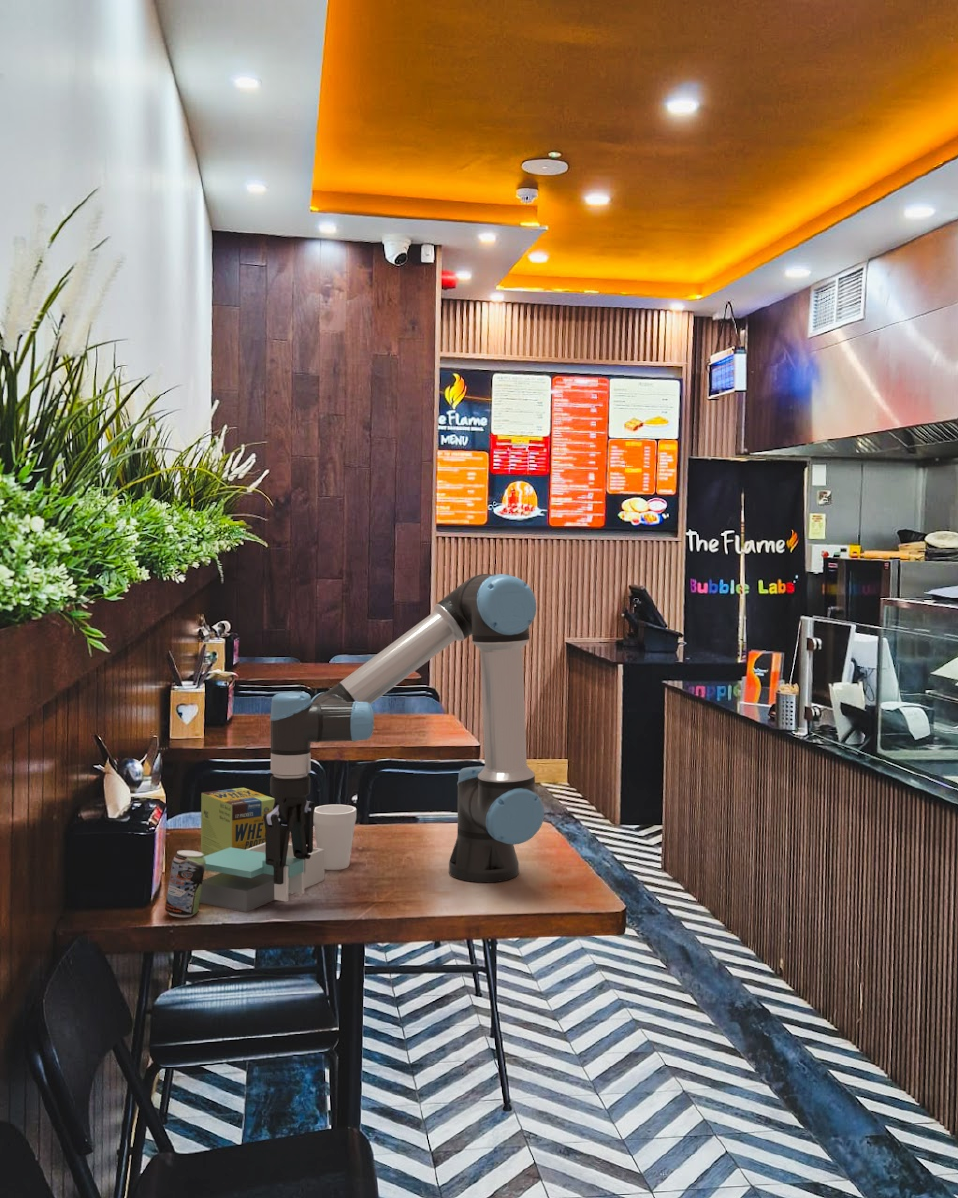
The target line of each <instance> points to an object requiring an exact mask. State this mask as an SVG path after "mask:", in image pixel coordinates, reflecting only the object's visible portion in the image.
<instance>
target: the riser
mask: <svg viewBox="0 0 958 1198" xmlns="http://www.w3.org/2000/svg"><path fill="white" fill-rule="evenodd" d="M274 900H275V899H274V875H271V874H265V873H262V874H260V875H257V876H255V877H252V878H248V877H242V876H237V875H231V874H226V873H220V872H219V873H217V874H215V875H213V876H209V877H206V878H203V882H202V889H201V895H200V901H199V904H204V905H208V906H213V907H217V908H223V909H229V910H235V911H239V912H244V913H248V912H251V911H252V910H254V909H256V908H259V907H261V906H264V905H266V904H268V903H271V902H273V901H274ZM275 901H276V900H275Z"/></svg>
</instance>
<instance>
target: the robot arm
mask: <svg viewBox="0 0 958 1198" xmlns="http://www.w3.org/2000/svg"><path fill="white" fill-rule="evenodd" d="M536 613H537V599H536V597H535V594H534V592H533V590H532V588H531V587H530V586H529V585H528V584H527V582H525V581H524V580H523V579H521V578H519V577H516V576H514V575H510V574H507V573H506V574H505V573H504V574H503V573H499V574H490V573H482V574H481V573H480V574H476V575H474V576H472V577H470V578H468V579H467V580H465V581H464V582H463V583H461V584H460V585H458V587H456V588H455V589H453V590H452V591H451V592H450V593H448V594H447V595H446V596H445V597H444V598H442V599H441V600H440V601H438V602H437V603H436V604H434V609H433V612H432V613H430V614H429V615H428V616H426V617H425V618H424V619H422V620H421V621H419V622H418V623H417V624H416V625H414V626H413V627H411V628H410V629H409V630H408V631H406V632H405V633H404V634H402V635H401V636H399V638H397V639H396V640H394V641H393V642H392V643H389V644H388V646H386V647H385V648H383V649H382V650H381V651H380V652H378V653H377V654H375V655H374V656H373V657H371V658H370V659H369V660H367V661H366V662H365V663H364V664H362V665H361V666H360V667H359V668H357V669H356V670H354V671H353V672H352V673H351V674H349V675H348V676H346V677H345V678H344V679H342V680H341V681H340V682H339V683H337V684H335V685H334V686H333V687H331V688H330V689H329V690H327V691H323V692H320V693H317V694H316V695H315V696H313V697H311V695H310V694H309V693H307V692H301V691H300V692H298V691H297V692H296V691H291V692H290V691H289V692H278V693H277V694H274V695H273V696H272V698H271V704H270V705H271V706H270V716H269V720H270V723H269V724H270V730H269V731H270V734H269V735H270V773H271V774H272V775H271V776H270V778H269V789H270V790H269V794H270V795H271V796H272V798H274V799H275V802H274V805H273V811H272V812H270V813H269V814H268V813H265V814H264V815H263V819H264V823H265V854H266V865H271V866H273V868H274V899H275V901H280V902H288V901H289V893H288V885H289V878H288V866H285V865H286V859H287V851H288V844H290V842H289V841H290V839H291V844H292V847H293V855H294V857H296V858H298V859H304V872H302V873H300V874H297V875H295V876H293V877H291V890H290V892H292V893H294V894H298V895H299V894H300V895H303V894H305V889H304V874H305V859H310V856H311V855H310V854H308V853H312V851H313V847H314V822H313V815H314V810H315V807H316V802H315V801H310V800H309V801H308V800H307V796H309V795H310V793H311V776H310V775H309V774H310V773H311V772H312V771H311V770H312V767H311V760H312V759H311V755H312V754H311V747H312V746H311V743H327V742H328V743H329V742H331V743H332V742H335V743H336V742H353V743H354V742H358V741H367V740H369V739H370V738H371V737H372V735H373V732H374V725H375V724H374V723H375V717H374V715H375V714H374V710H373V707H372V704H373V703H375V702H376V701H377V700H378V699H380V698H382V696H384V695H385V694H386V693H387V692H389V691H391V690H392V689H393V688H395V686H397V685H398V684H400V683H401V682H402V681H404V680H405V679H407V678H408V677H409V676H410V675H411V674H413V673H414V672H416V671H417V670H418V669H420V668H421V667H422V666H423V665H425V664H426V663H428V662H429V661H430V660H431V659H432V658H434V657H435V656H436V655H438V654H439V653H441V652H442V651H444V650H445V649H446V648H447V647H449V646H450V645H451V644H452V643H455V641H458V642H459V641H460V642H463V641H464V640H465V639H468V638H469V637H470V636H471V639H472V641H471V642H472V644H473V645H474V646H475V647H476V648H478V650H479V652H480V655H479V656H480V657H479V658H480V674H481V675H480V676H481V677H480V679H481V701H482V703H481V705H482V706H481V707H482V725H483V726H482V727H483V729H482V730H483V753H484V766H481V765H479V766H469V767H463V768H461V769H460V770H459V772H458V775H457V776H458V780H457V781H456V785H457V834H456V836H457V837H456V841H455V843H454V846H453V849H452V853H451V855H450V859H449V860H448V861H449V862H448V873H449V875H450V876H452V877H453V878H456V879H458V880H462V881H467V882H473V883H474V882H475V883H494V882H495V883H496V882H504V881H508V880H511V879H514V878H516V877H517V876H518V875H519V873H520V872H519V871H520V869H519V865H520V863H519V860H518V859H519V858H518V856H517V853H516V850H515V846H514V845H519V844H523V843H526V842H528V841H530V840H532V838H534V836H535V835H536V834H537V833H538V832H539V830H540V829H541V827H542V825H543V821H544V818H545V807H544V804H543V802H542V800H541V798H540V797H539V795H538V794H537V793H536V775H535V772H534V771H533V769H531V768H530V767H529V766H528V763H527V762H528V760H527V738H526V737H527V736H526V732H527V731H526V712H525V711H526V708H525V706H526V705H525V686H524V684H525V683H524V656H523V655H524V654H523V653H524V652H523V648H524V647H525V646H526V645H527V644H528V643H529V642H530V625H532V622H534V620H535V617H536Z"/></svg>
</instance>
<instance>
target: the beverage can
mask: <svg viewBox="0 0 958 1198" xmlns="http://www.w3.org/2000/svg"><path fill="white" fill-rule="evenodd" d="M203 855H204V854H203V853H201V851H197V850H191V849H184V850H183V849H181V850H177V851H176V854H175V855H174V857H173V858H172V861H171V868H170V874H169V875H170V876H169V881H168V888H167V895H166V899H165V907H164V910H165V911H166V912H167V913H168V915H170V916H172V917H176V918H191V917H193V916H194V915H196V914H197V913H198V912H199V907H200V903H199V901H200V895H201V889H202V882H203V880H204V876H205V870H204V869H205V863H206V861H205V859H204V857H203Z"/></svg>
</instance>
